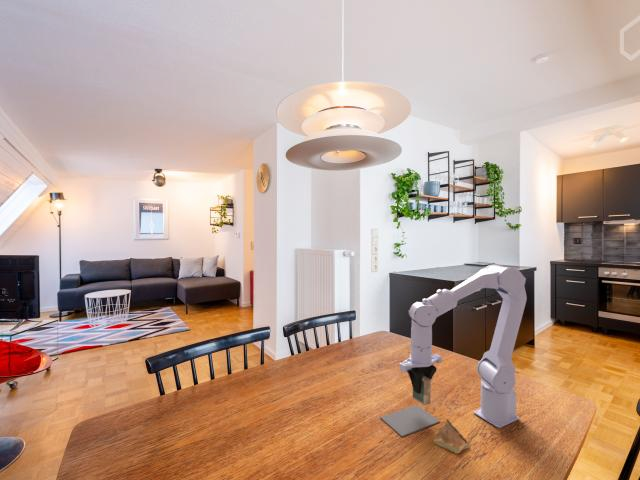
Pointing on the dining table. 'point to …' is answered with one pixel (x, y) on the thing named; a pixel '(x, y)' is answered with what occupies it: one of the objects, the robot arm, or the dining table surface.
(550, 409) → the dining table surface
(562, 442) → the dining table surface
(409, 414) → the felt mat
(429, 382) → the beech block
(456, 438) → the shard
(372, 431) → the dining table surface
